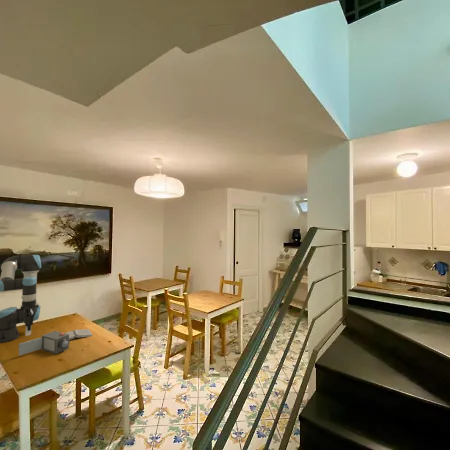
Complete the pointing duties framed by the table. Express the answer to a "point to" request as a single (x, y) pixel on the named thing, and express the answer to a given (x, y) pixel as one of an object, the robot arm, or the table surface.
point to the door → (30, 346)
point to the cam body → (55, 342)
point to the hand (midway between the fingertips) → (28, 335)
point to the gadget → (79, 333)
